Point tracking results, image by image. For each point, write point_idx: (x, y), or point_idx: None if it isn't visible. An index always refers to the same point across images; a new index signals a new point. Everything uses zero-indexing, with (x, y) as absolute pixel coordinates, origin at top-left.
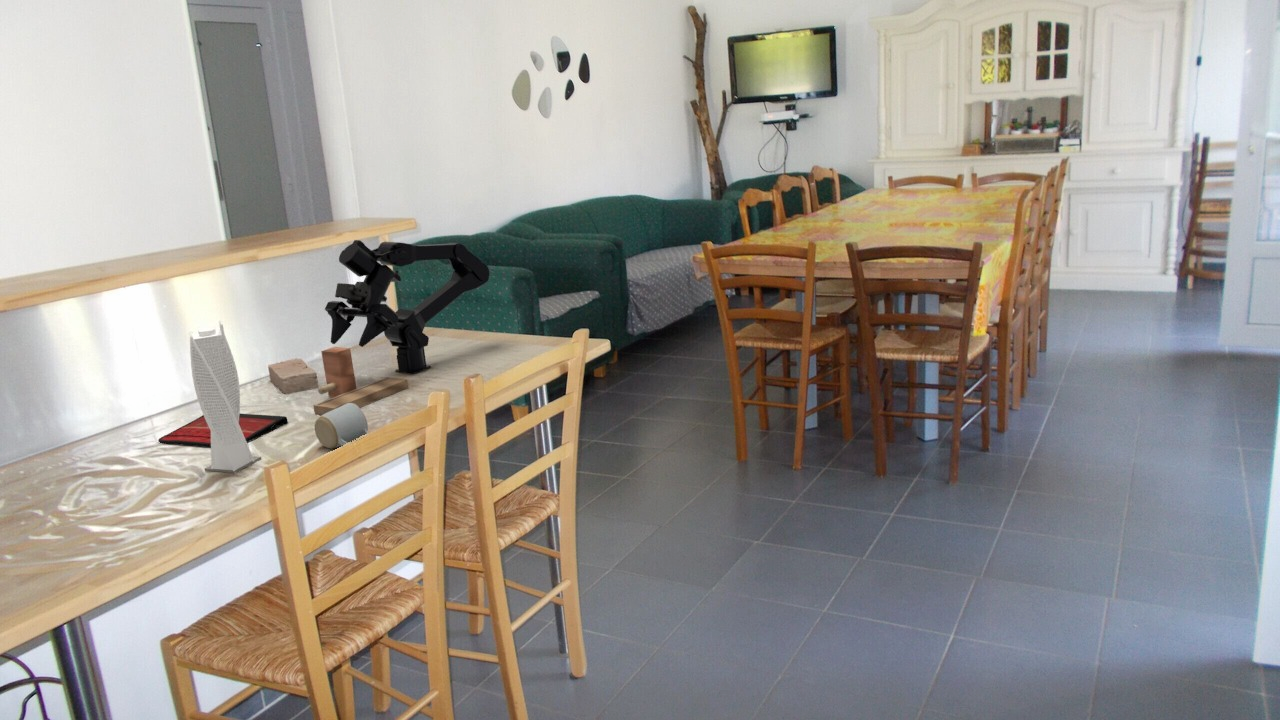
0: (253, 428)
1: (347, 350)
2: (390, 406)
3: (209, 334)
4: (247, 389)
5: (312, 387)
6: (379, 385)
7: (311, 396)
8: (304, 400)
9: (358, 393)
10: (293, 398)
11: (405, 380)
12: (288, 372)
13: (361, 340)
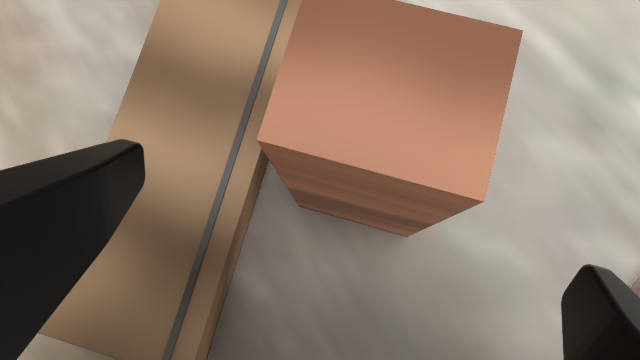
0: None
1: (269, 107)
2: (38, 43)
3: None
4: None
5: (636, 290)
6: (155, 211)
7: (537, 159)
8: (528, 98)
9: (204, 71)
10: (616, 124)
11: None
12: None
13: (87, 152)
